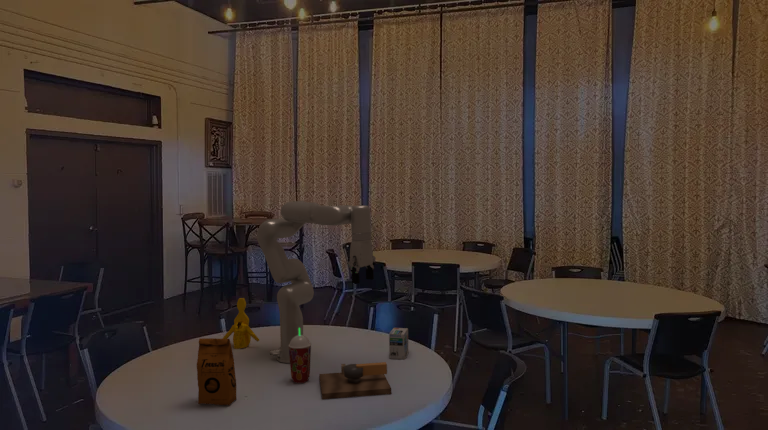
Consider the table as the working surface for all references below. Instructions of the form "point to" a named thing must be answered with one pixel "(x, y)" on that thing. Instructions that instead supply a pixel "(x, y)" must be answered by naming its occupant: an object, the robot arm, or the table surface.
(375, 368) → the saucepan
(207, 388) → the coffee package
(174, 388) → the table surface
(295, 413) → the table surface
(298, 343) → the smoothie
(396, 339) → the light bulb box
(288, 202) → the robot arm
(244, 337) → the figure statuette
